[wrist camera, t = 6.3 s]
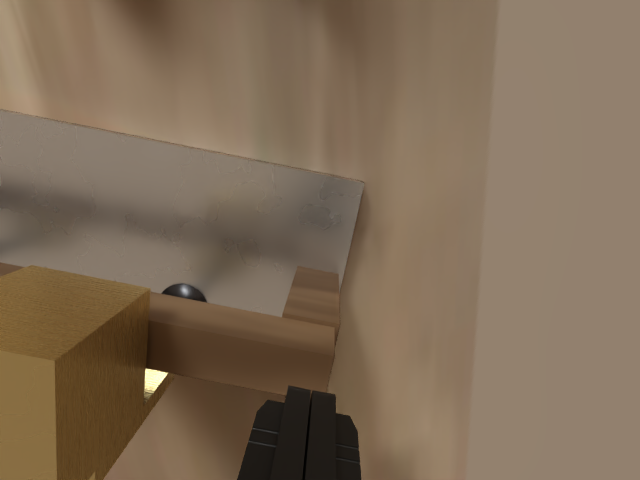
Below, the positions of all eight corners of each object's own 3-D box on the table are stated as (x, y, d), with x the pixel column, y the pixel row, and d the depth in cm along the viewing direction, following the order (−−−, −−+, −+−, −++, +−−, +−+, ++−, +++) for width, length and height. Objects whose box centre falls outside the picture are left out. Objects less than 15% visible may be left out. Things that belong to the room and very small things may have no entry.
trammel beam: (-137, 180, 19) (-489, 203, 11) (338, 273, 19) (341, 364, 11) (-123, 259, 20) (-430, 333, 12) (322, 345, 21) (314, 475, 12)
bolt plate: (-129, 83, 19) (-162, 78, 18) (362, 181, 19) (364, 183, 18) (-96, 307, 23) (-121, 316, 21) (316, 386, 23) (315, 400, 22)
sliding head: (152, 218, 19) (-128, 325, 7) (223, 232, 19) (55, 360, 7) (146, 311, 20) (-94, 518, 9) (212, 323, 20) (58, 546, 9)
